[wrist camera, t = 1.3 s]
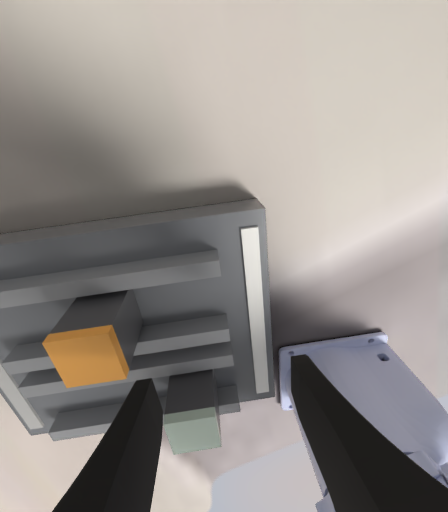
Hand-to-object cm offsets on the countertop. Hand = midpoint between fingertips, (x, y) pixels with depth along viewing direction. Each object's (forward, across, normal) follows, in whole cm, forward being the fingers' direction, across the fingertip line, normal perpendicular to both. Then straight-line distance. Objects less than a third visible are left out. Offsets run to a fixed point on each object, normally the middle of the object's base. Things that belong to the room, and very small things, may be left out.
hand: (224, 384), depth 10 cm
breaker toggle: (+7, +6, 0) cm, 9 cm away
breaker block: (+9, +6, +3) cm, 12 cm away
